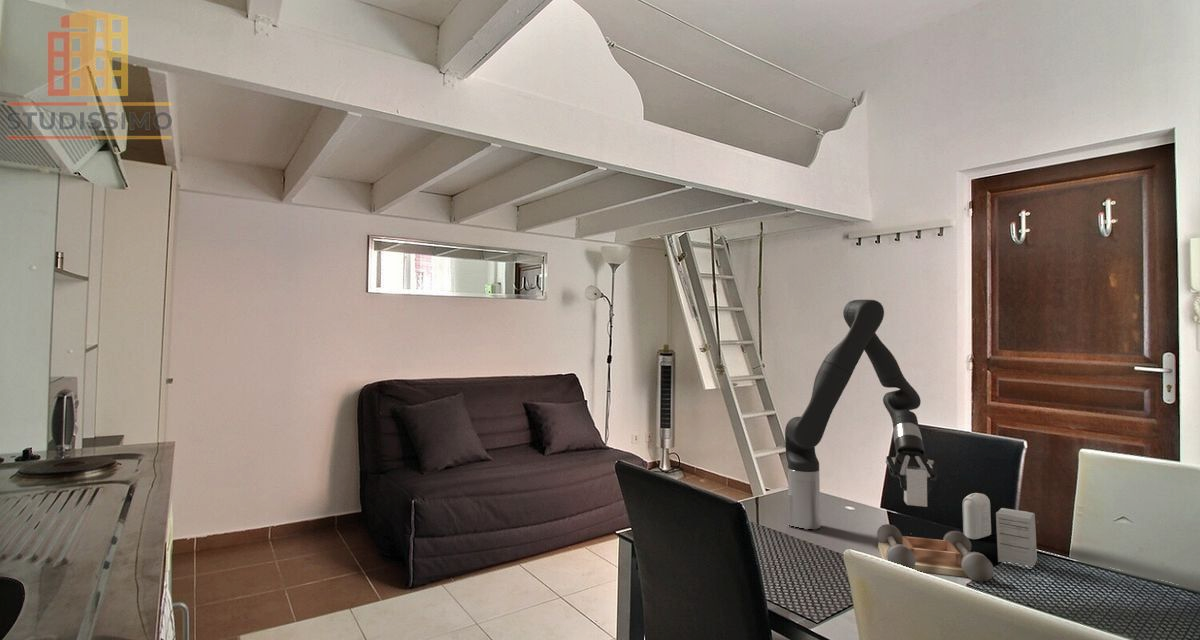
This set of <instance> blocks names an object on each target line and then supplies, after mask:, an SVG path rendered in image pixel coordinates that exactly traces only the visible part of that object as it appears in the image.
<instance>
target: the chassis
mask: <svg viewBox="0 0 1200 640" xmlns="http://www.w3.org/2000/svg"><path fill="white" fill-rule="evenodd" d="M876 535H877V536H876V537H877V538H878V541H879V542H878V543H877V544H878V550H879V553H880V555H881V557H882V560H883V559H885V560H888V561H891V562H894V563H897V564H901V565H903V566H906V567H909V568H912V569H915V570H918V571H917V572H920V571H922V572H923V573H928V574H929V573H931V574H936V575H937V574H938V575H944V576H945V575H948V576H954V577H964V578H969V579H971V580H972V581H974V582H976V583H977V582H978V583H983V581H985V582H988V581H989V579H991V580H992V577H993V576H994V572H995V570H994V569H995V568H994V565H993V563H992V562H991V561H990V559H988V558H987V556H985V555H984V554H983V553H980V552H977V551H971V550H972V542H971V541H970V538H967V537H966V536H965V535H964V533H963V532H961V531H959V530H950V531H947V532H946V533H945V534H944V536H943V539H935V538H928V537H927V538H925V537H917V536H906V535H903V534H902V533H901V531H900V529H899V528H897V526H895V525H892V524H891V523H890V524H889V523H886V524H883V525H880V526H879V528H878V529H877V531H876ZM922 572H921V573H922Z"/></svg>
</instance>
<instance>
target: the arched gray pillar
mask: <svg viewBox="0 0 1200 640" xmlns="http://www.w3.org/2000/svg"><path fill="white" fill-rule="evenodd" d="M991 521H992V519H991V501H990V498H989V497H988V496H987V495H986V494H984V493H979V492H974V493H973V492H972V493H970V494H968V495H967V496H965V497H964V498H963V500H962V530H963V532H962V533H963V534H964V535H965V536H966V537H967V538H968V539H969V540H970V539H971V540H979V539H982V538H986V537H989V536H990V535H992V522H991Z"/></svg>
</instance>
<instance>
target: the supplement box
mask: <svg viewBox="0 0 1200 640" xmlns="http://www.w3.org/2000/svg"><path fill="white" fill-rule="evenodd" d="M1035 516H1036V514H1035V513H1034V512H1030V511H1025V510H1017V509H1011V508H1005V507H1001V508H999V510H998V511H996V512H995V521H996V523H995V526H996V545H997V546H996V547H997V563H999V562H1011V563H1018V564H1023V565H1028V566H1034V564H1035V563H1036V561H1037V562H1038V553H1037V551H1038V550H1037V549H1038V547H1037V536H1036V535H1037V533H1036V531H1037V530H1036V517H1035Z"/></svg>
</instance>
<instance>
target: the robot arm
mask: <svg viewBox="0 0 1200 640" xmlns="http://www.w3.org/2000/svg"><path fill="white" fill-rule="evenodd" d="M842 313H843V314H842V315H843V318H844V321H845V323H846V325H847V326H848V327H849V331H848V332H847V333H846V335H845V337H844V338H843V339H842V340H841V341H840V342H839V343H838V344H837V345H835V347H833V348H832V349H831V350H830V351H829V353H828V354H827V355H825V357H824V359H823V360H822V363H821V365H820V366H819V368H818V371H817V372H816V375H815V377H814V382H813V385H812V386H813V388H812V392H811V396H810V400H809V403H808V404H807V407H806V409H805V410H804V411H803V413H802V414H801V416H795V417H792V418H790V419H789V420H788V422H787V423H786V425H785V431H784V441H785V443H784V445H785V457H786V462H787V473H788V474H787V475H788V477H787V479H788V480H787V481H788V482H787V483H788V484H787V485H788V486H787V487H788V488H787V490H788V495H787V499H788V500H787V501H788V502H787V504H788V509H787V510H788V515H787V516H788V526H789V525H794V526H796V527H799V528H804V529H803V530H808V529H813V530H817V529H818V528H819V529H820V528H821V494H820V493H821V491H820V490H821V489H820V488H821V487H820V480H821V479H820V462H819V459H818V457H817V454H816V447H817V446H818V445H819V444H820V442H821V441H822V438H823V437H824V434H825V430H826V428H827V427H828V423H829V421H830V417H831V415H832V413H833V411H834V409H835V408H836V405H837V403H838V402H839V400H840V398H841V396H842V394H843V393H844V390H845V388H846V387H847V385H848V383H849V381H850V379H851V377H852V375H853V373H854V371H855V369H856V366H858V365H857V364H859V361H860V359H861V357H862V355H863V354H864V352H865V354H866V355H867V357H868V360H869V361H870V363H871V365H872V367H873V369H874V371H875V374H876V376H877V378H878V380H879V382H880V385H881V386H882V387H884V388H889V389H891V388H892V389H894V388H896V389H897V390H892V391H889V392H886V393H885V394H884V395H883V398H882V402H883V405H884V407H885V409H886V411H887V412H888V414H889V416H890V419H891V421H892V428H893V442H894V448H895V453H896V455H895V456H893V457H892V456H890V455H887V456H886V458H885V459H886V460H885V463H886V466H887V468H888V470H889V473H890V475H891V477H892V478H897V479H898V480H899V485H900V489H902V490H903V492H904V491H906V489H907V484H906V478H905V476H904V474H905V471H904V466H906V467H907V466H913V467H921V468H925V469H926V470H927V494H929V493H930V492H931V491H932V487H933V486H932V482H935V481H936V480H937V476H938V469H939V460H938V459H933V460H932V459H928V457H927V456H926V453H925V447H924V442H923V438H922V432H921V430H920V427H919V422H918V421H919V420H918V417H917V415H916V413H914V412H913V410H916V409H918V408H919V407H920V406H921V401H922V400H921V397H920V395H919V393H918V392H917V390H916V389H915V388H914V387H913V386H912V385H911V384H910V383H909V382H908V380H907V379H906V378H905V376H904V374H903V372H902V370H901V368H900V365H899V363H898V361H897V360H896V357H895V356H894V355H893V353H892V352H891V350H890V349H889V348H888V347H887V346H886V345H885V344H884V343H883V342H882V340H881V339H880V338H879V336H878V335H877V333H876V332H877V331H878V329H879V327H880V326H881V325H882V322H883V320H884V317H885V308H884V305H882V303H881V302H880V301H878V300H875V299H853V300H851V301H848V302H847V303H846V304H845V306H844V308H843V312H842ZM895 463H897V464H898V465H899V466H900V471H898V469H897V468H896V465H895ZM927 464H928V465H929V468H930V469H931V473H929V471H928V469H927V467H926V466H927ZM799 528H798V529H799Z"/></svg>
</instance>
